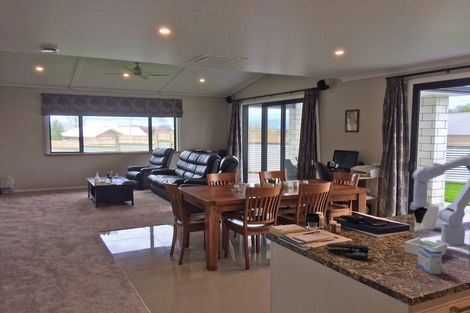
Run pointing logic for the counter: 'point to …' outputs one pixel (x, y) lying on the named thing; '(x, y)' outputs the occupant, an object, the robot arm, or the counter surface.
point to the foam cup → (430, 217)
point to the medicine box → (429, 259)
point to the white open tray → (413, 247)
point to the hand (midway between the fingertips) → (418, 222)
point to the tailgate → (430, 243)
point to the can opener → (354, 254)
